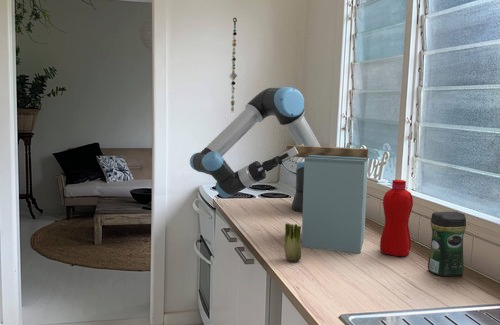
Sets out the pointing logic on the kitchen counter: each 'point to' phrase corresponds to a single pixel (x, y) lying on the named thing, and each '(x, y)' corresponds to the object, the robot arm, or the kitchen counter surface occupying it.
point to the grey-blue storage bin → (334, 202)
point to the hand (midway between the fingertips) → (300, 148)
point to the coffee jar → (447, 243)
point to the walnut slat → (329, 151)
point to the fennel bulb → (292, 242)
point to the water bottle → (396, 220)
